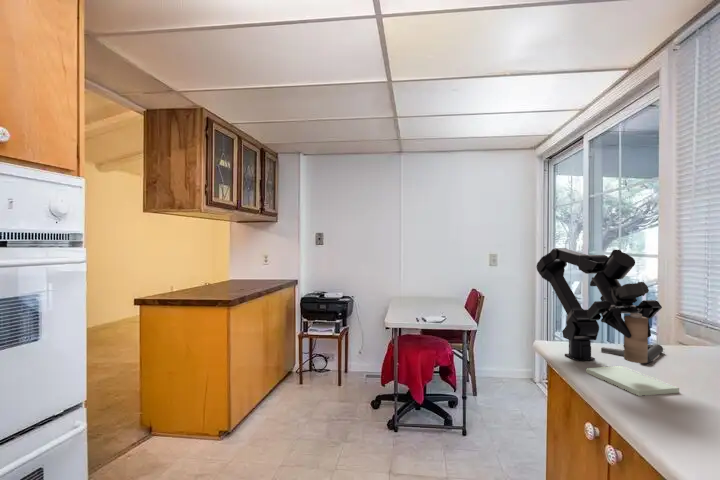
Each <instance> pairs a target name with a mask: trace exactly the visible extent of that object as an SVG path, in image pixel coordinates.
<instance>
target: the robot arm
mask: <svg viewBox="0 0 720 480" xmlns="http://www.w3.org/2000/svg"><path fill="white" fill-rule="evenodd" d="M568 264H570V265H574V266H576V267H577V268H578V270H579V271H581V272H582V273H584V274H589V275H591V274H592V275H593V274H595V275H594V276H593V277H591V281H590V283H589V286H590V287H596V288H597V289H598V291H599V293H600V294H601V296H600V298H599V299H600V301H599V300H595V301H593V303H592V304H591V305H590V307H589V308H588V309H584V308H582V306H581V303H580V302H579V301H578V299H577V297H576V295H575V294H574V291H573V290H572V289H571V287H570V285H569V284H568V282H567V280H566V278H565V271H566V270H565V268H566V267H567V266H568ZM634 266H636V260H635V259H634V258H633V257H632V256H630V255H629V254H628V253H625V252H622V250H621V249H613V250H612V251H611V252H610V255H609V256H608V255H605V254H586V253H583V252H578V251H574V250H572V249H568V248H566V247H555V248H553V249H551V251H550V252H549V253H547V254H544V255H543V256H542V257H541V258H540V259H539V261H538V262H537V263H536V267H535V268H536V271H537V272H538V274H539V275H540V276H541V278H542V279H543V280H545V281H546V282H549V284H550V286H552V289H553V290H554V293H555V294H556V296H557V298H558V300H559V302H560V304H561V305H562V307H563V309H564V311H565V313H566V315H567V316H566V322H565V323H566V326H565V327H564V328H563V329H562V331H561V332H562V337H563V338H564V339H566V340H568V353H564V356H565V357H568V358H570V359H573V360H574V361H577V362H581V361H595V360H596V358H595V357H593V356H592V346H591V345H592V341H597V339H598V335H599V331H600V325H599V323H598V321H600V322H601V323H605V324H607V326H609V327H611V328H613V329H615V330H616V331H617V332H619V333H620V334H622V335H623V336H624V335H625V336H626V337H627V338H630V337H631V334H630V331H629V329H628V328H627V326H626V324H625V322H624V318H623V317H622V315H623V314H630V313H640V314H642V317H646V318H648V338H651V336H652V332H651V327H650V322H649V320H650V319H653V317H654V316H655V315H656V314H658V312H659V311H661V309H662V308H663V307H662V305H661V304H660V302H659V300H652V299H650V300H649V299H645V300H642V301H641V302H639V304H638V305H635V304H634V303H636V302H637V301H638V299H637V298H639V297H644V296H646V294H648V293H649V287H648V285H647V284H646V283H645V281H638V282H637V283H625V284H623V285H622V284H621V283H620V281H619V280H622V279H624V278H625V277H626V276H627V274H628V273H630V271H631V270H632V269H633V267H634ZM601 317H602V318H601Z"/></svg>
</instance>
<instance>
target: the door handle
mask: <svg viewBox="0 0 720 480" xmlns="http://www.w3.org/2000/svg"><path fill="white" fill-rule="evenodd" d="M623 347H624V344H623ZM600 352H601V353H605V354H612V355H616V356H621V357H622V356H623V357H624V349H621V348H620V349H619V348H612V347H605V346H604V347H601V348H600ZM662 353H664V348H663V346H662V345H661V344H648V362H647V363H641V364H642V365H647V364H649V363H651V362H655V360H656V359H658V358H659V357H660V355H661V354H662Z"/></svg>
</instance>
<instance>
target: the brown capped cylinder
mask: <svg viewBox="0 0 720 480" xmlns="http://www.w3.org/2000/svg"><path fill="white" fill-rule="evenodd" d="M629 314H630V315H624V318H623V321H624V322H625V324H626V326H627V328H628V329H629V331H630V334H631V337H630V338H627V337H626V336H625V335H623V336H624V338H623V341H624V342H623V345H624V346H623V350H624V356H623V359H624V360H625V361H627V362H631V363H636V364H642V363H647V362H648V345H649V344H648V343H649V341H648V340H649V337H648V318H646V317H642V314H640V313H629Z"/></svg>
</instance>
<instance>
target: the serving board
mask: <svg viewBox="0 0 720 480" xmlns="http://www.w3.org/2000/svg"><path fill="white" fill-rule="evenodd" d="M585 371H586V373H587V374H588V375H591V376H594V377H596V378H598V379H599V380H602V381H604V380H605V381H604V382H606V381H607V382H606V383H609V384H611V385H613V384H614V385H613V386H615V385H616V387H617V386H618V388H620V389H622V390H624V389H625V391H626V390H627V392H628V391H629V392H628V393H632V394H633V395H635V394H636V395H635V396H637V395H638V396H637V397H643V396H642V395H645V396H654V395H669V394H678V393H680V387H678V386H675V385H672V384H670V383H667V382H665V381H663V380H660V379H659V378H658V379H657V378H656V377H652V376H650V375H648V374H644V373H643V372H639V371H637V370H634V369H631V368H629V367H626V366H624V365H618V366H617V365H616V366H602V367H601V366H600V367H588V368H586V370H585Z"/></svg>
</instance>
